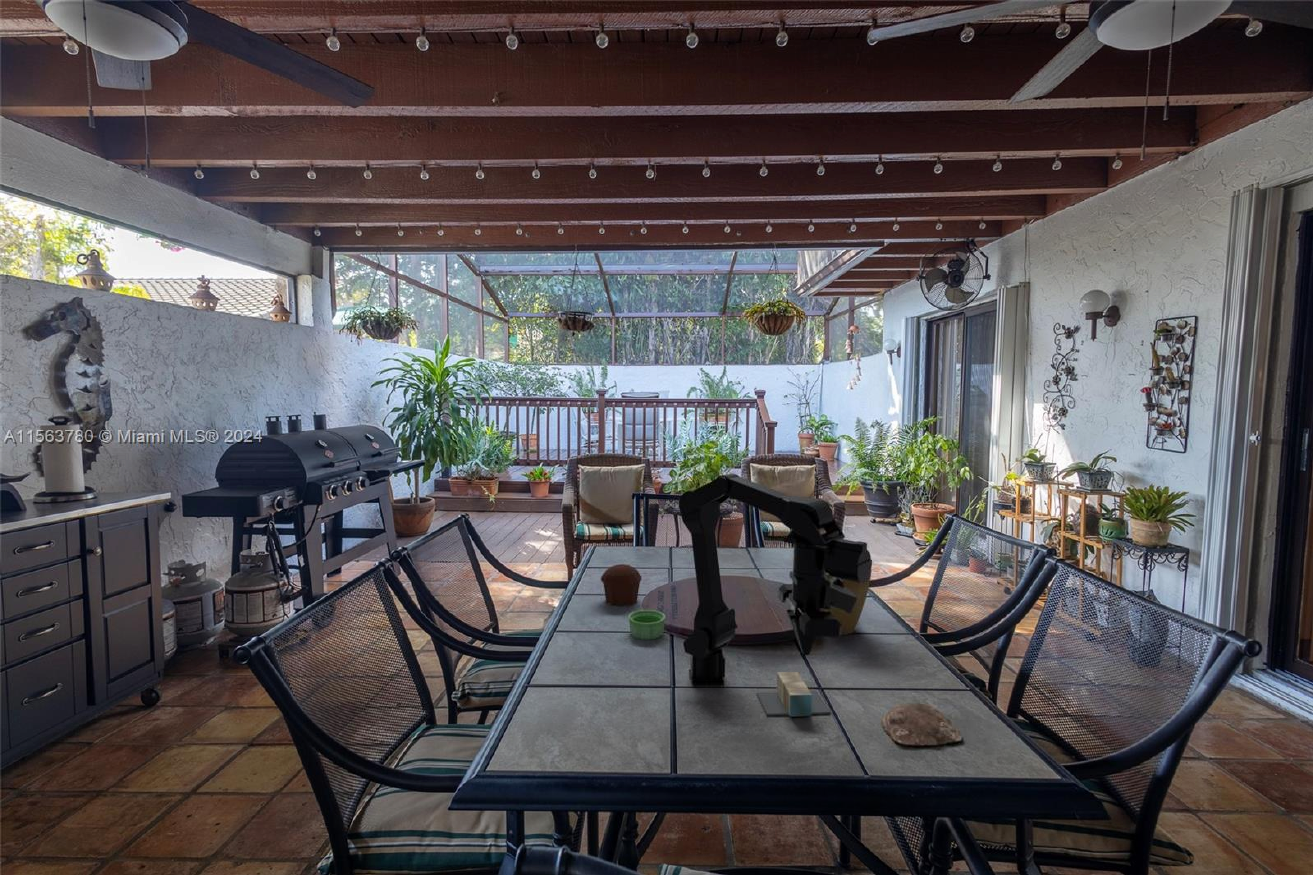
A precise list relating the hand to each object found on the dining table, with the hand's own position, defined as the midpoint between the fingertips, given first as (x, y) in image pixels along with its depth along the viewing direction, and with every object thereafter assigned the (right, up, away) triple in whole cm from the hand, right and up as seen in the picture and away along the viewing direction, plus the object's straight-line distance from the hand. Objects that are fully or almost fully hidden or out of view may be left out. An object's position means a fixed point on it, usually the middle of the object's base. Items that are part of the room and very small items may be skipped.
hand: (805, 654), depth 111 cm
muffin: (-37, -7, +62) cm, 72 cm away
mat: (-1, -12, +6) cm, 13 cm away
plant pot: (+18, -9, +43) cm, 47 cm away
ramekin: (-29, -9, +39) cm, 50 cm away
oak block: (-1, -10, +1) cm, 10 cm away
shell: (+20, -13, -2) cm, 24 cm away
